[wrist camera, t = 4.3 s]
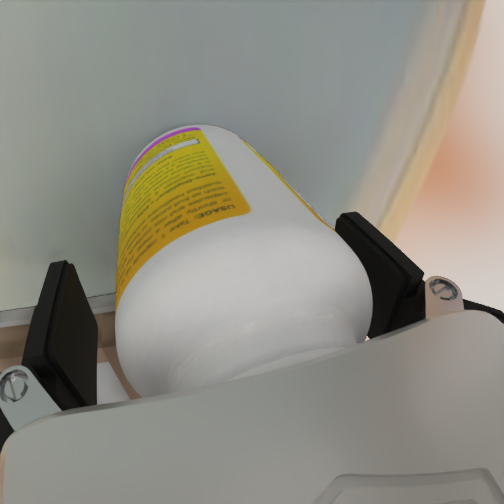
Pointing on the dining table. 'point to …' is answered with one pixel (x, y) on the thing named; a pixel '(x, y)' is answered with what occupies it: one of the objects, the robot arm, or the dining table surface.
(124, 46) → the dining table surface
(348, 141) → the dining table surface
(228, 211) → the supplement bottle
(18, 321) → the shallow square brown tray
